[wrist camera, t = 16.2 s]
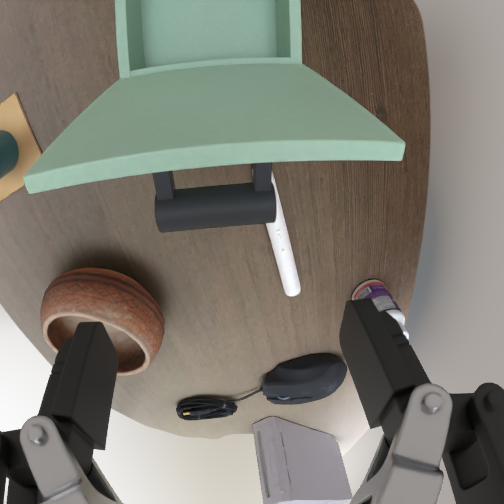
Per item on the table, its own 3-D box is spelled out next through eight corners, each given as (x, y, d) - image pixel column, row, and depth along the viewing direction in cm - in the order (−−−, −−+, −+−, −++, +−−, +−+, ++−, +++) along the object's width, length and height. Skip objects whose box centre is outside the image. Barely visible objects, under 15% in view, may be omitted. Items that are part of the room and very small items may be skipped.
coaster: (-35, 136, 24) (-37, 137, 23) (16, 91, 23) (14, 92, 23) (-3, 203, 29) (-5, 204, 29) (50, 168, 29) (48, 169, 28)
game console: (272, 414, 60) (287, 500, 44) (336, 435, 73) (354, 498, 57) (251, 423, 62) (263, 506, 46) (319, 443, 75) (334, 505, 58)
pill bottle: (382, 302, 45) (408, 350, 37) (349, 310, 45) (372, 361, 37) (386, 274, 42) (418, 323, 34) (352, 282, 42) (379, 334, 34)
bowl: (67, 326, 41) (48, 379, 33) (49, 237, 33) (14, 289, 25) (166, 341, 44) (161, 398, 36) (171, 252, 36) (161, 312, 28)
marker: (245, 155, 31) (248, 162, 29) (265, 149, 31) (269, 156, 29) (283, 287, 41) (286, 299, 39) (298, 283, 41) (303, 295, 39)
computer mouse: (347, 367, 54) (356, 391, 49) (194, 417, 58) (194, 440, 54) (336, 340, 49) (346, 367, 44) (167, 398, 53) (166, 423, 49)
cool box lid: (21, 177, 9) (65, 270, 12) (407, 143, 10) (379, 242, 13) (117, 79, 19) (127, 135, 23) (304, 63, 20) (301, 120, 24)
